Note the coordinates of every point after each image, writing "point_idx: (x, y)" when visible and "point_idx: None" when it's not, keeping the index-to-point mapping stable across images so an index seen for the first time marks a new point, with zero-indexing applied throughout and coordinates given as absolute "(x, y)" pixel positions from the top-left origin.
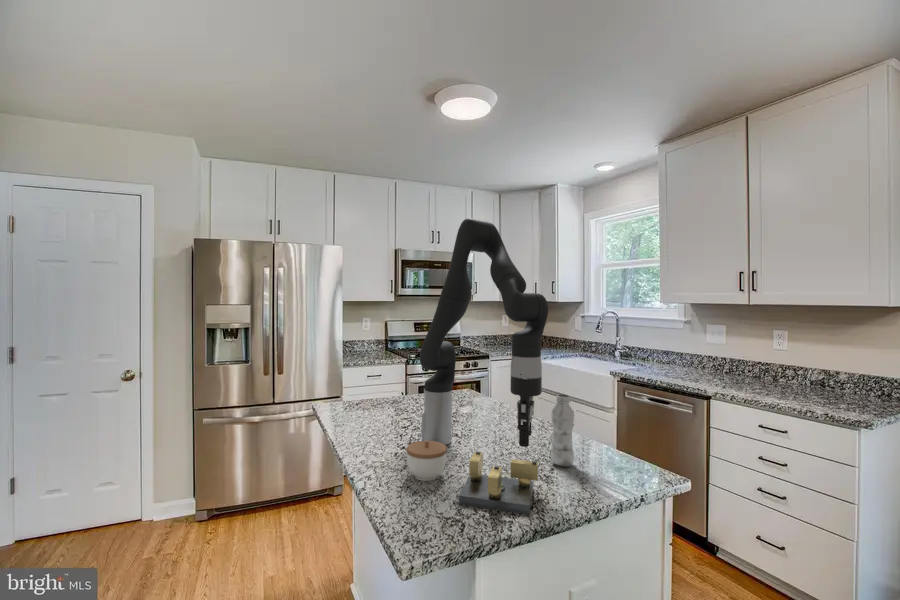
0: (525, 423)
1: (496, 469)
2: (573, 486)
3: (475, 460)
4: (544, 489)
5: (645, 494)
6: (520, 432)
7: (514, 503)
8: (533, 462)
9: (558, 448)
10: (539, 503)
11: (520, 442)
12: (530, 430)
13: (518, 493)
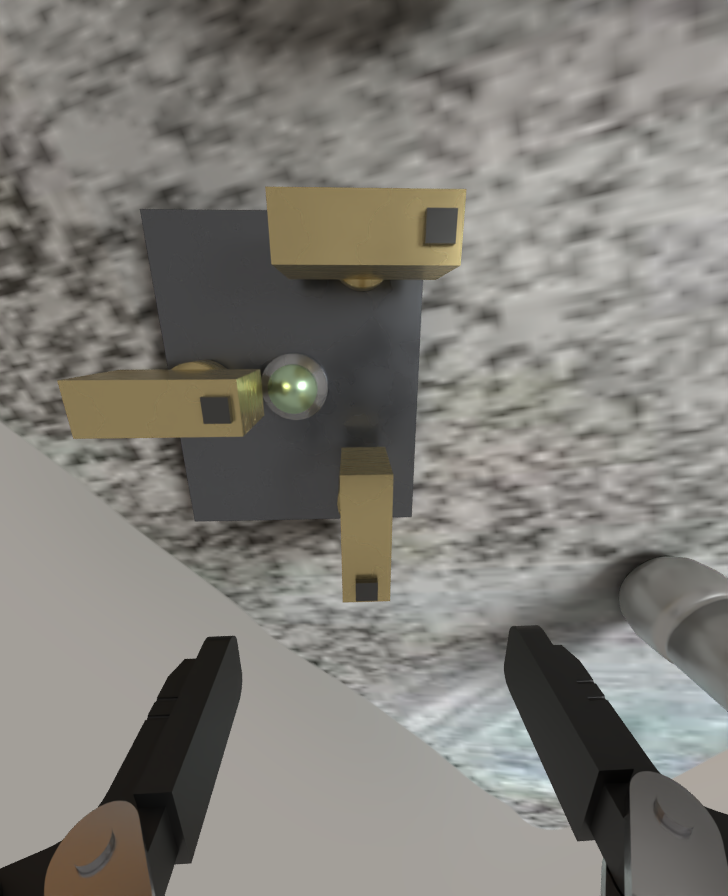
0: (570, 756)
1: (197, 410)
2: (463, 616)
3: (292, 235)
4: (416, 537)
5: (453, 764)
6: (151, 774)
7: (186, 470)
8: (363, 588)
9: (686, 631)
10: (301, 529)
11: (200, 665)
12: (525, 717)
13: (276, 475)
